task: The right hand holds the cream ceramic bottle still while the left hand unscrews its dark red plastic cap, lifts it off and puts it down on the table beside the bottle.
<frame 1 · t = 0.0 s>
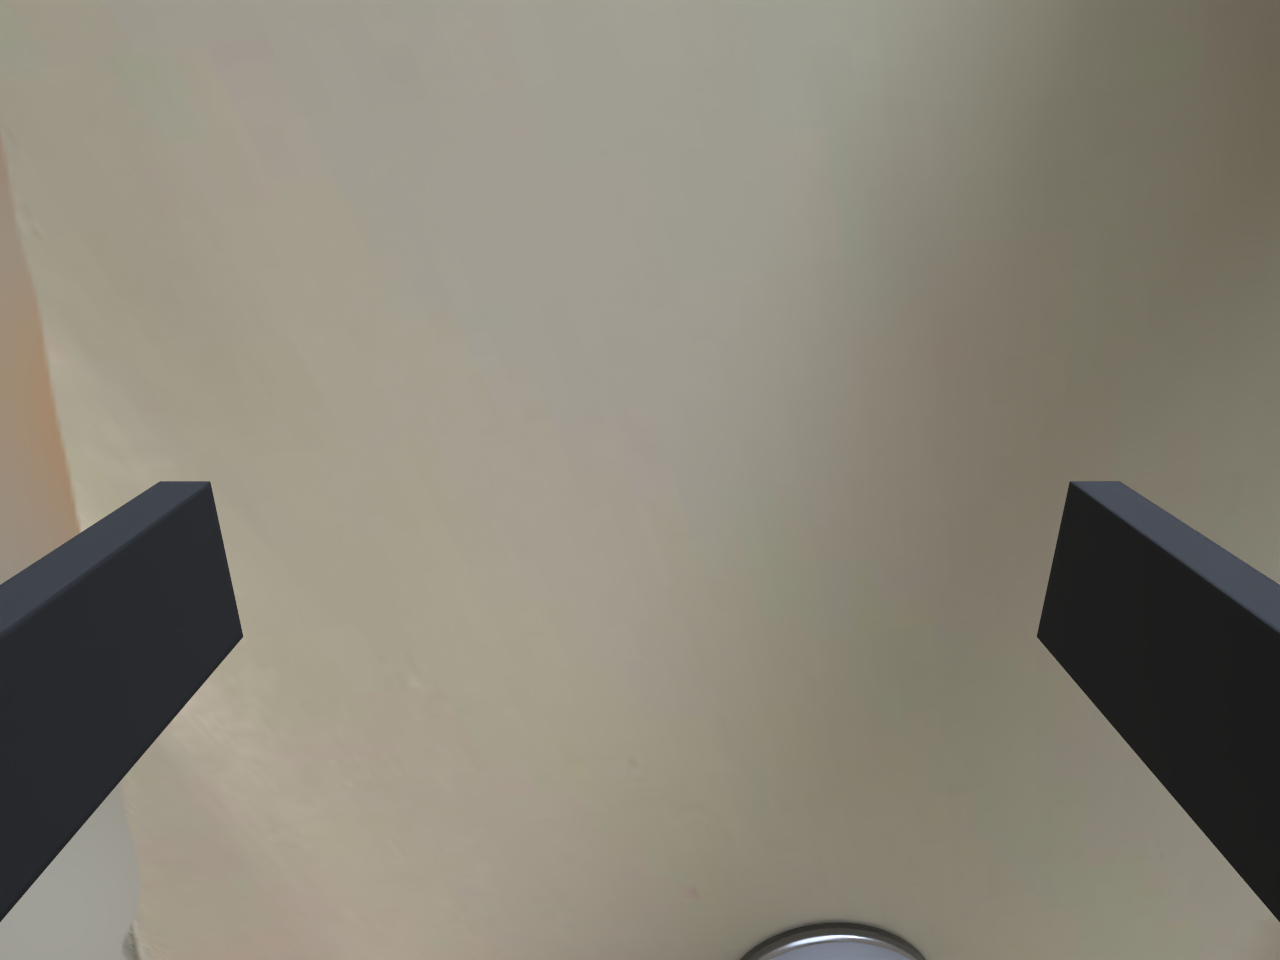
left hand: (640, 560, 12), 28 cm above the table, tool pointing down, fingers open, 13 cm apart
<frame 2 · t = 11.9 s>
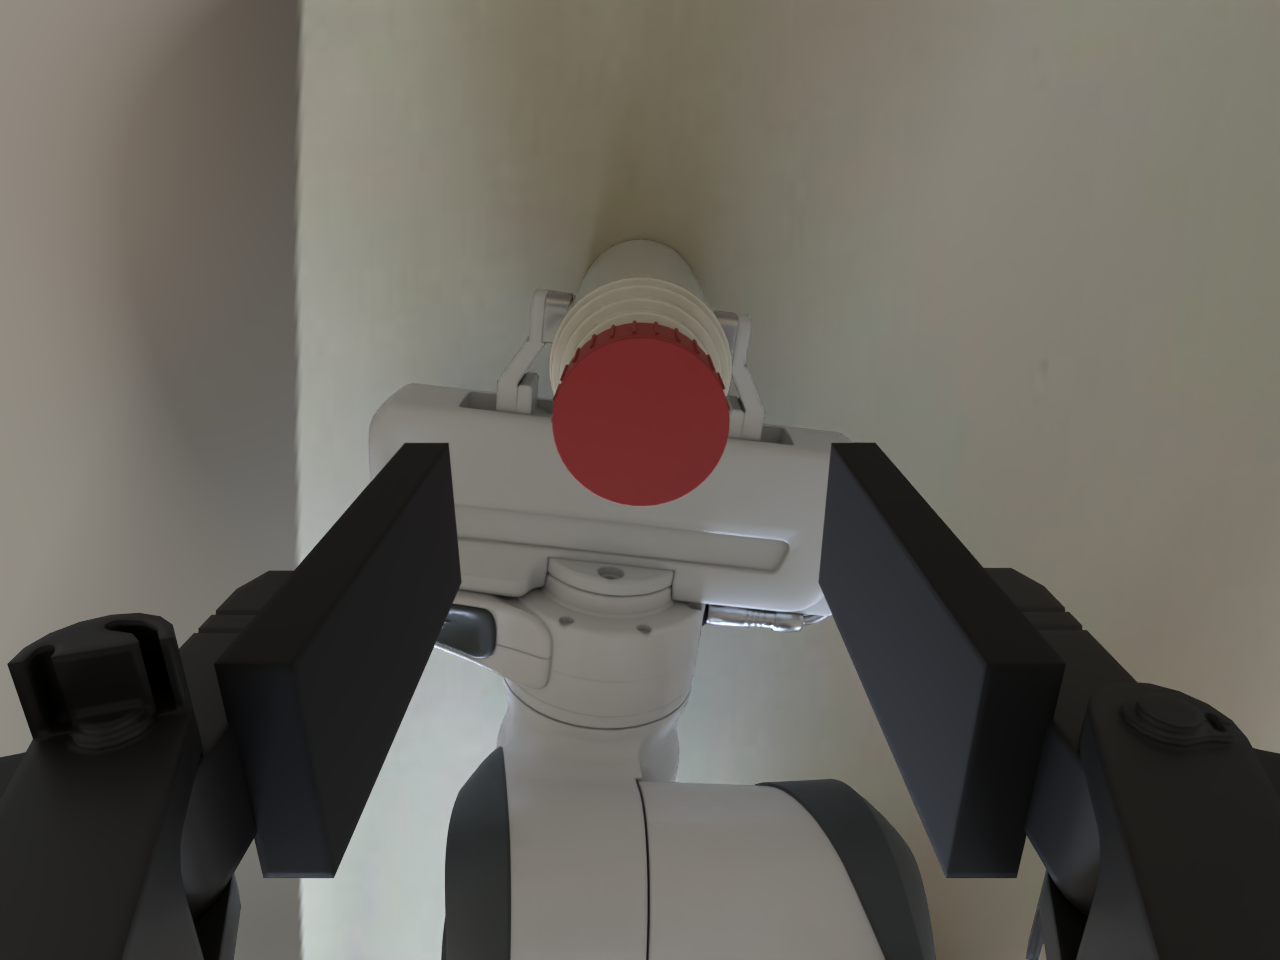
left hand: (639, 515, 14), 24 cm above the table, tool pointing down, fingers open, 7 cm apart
right hand: (641, 303, 31), fingers closed on bottle, 5 cm apart
cap: (640, 421, 19), point 19 cm above the table, screwed on, not yet turned
bottle: (640, 301, 37), on the table, touching right hand
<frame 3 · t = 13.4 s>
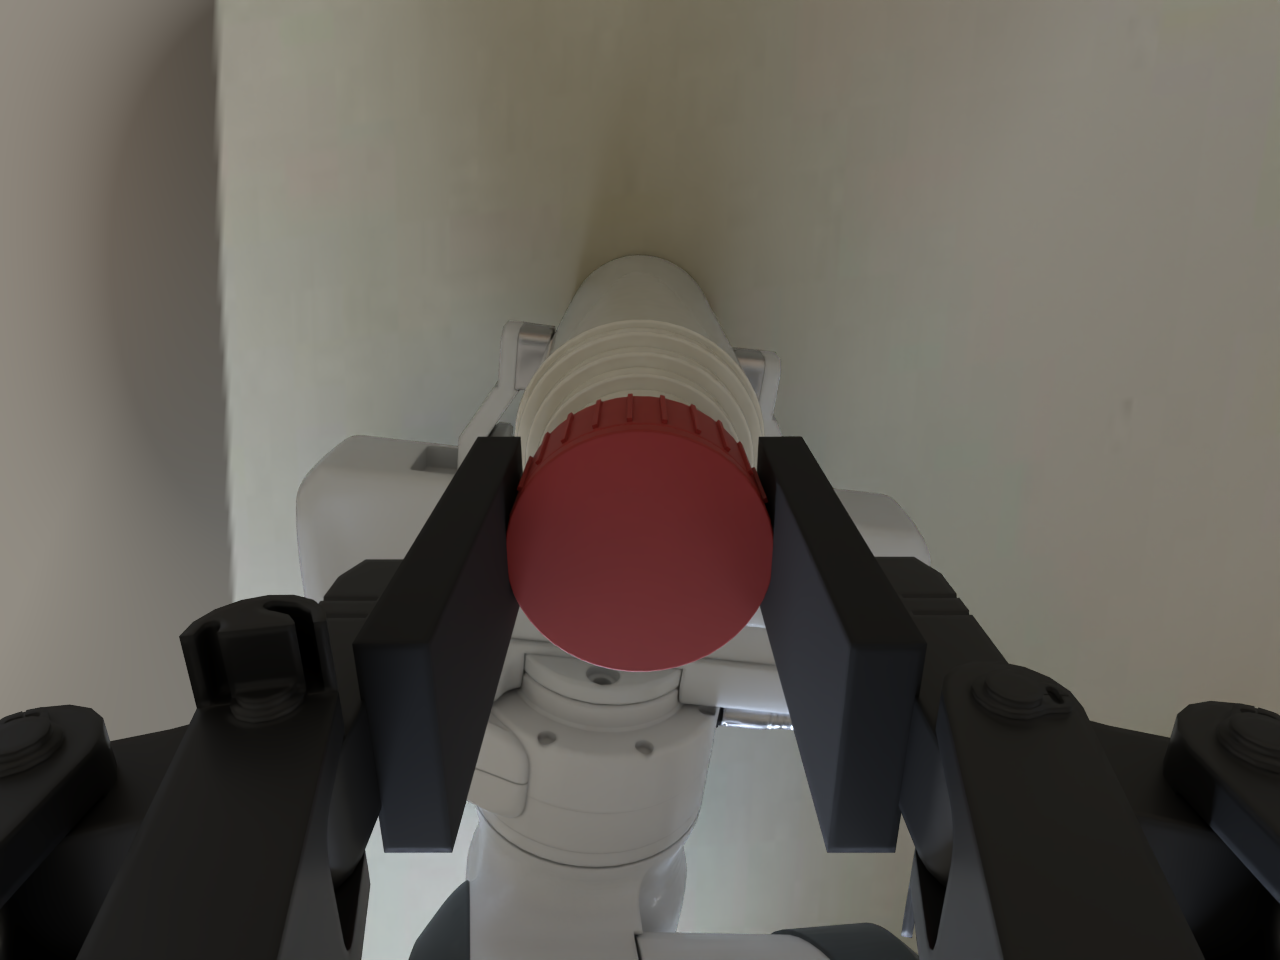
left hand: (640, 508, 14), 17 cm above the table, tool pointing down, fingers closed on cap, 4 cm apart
cap: (639, 550, 13), point 19 cm above the table, screwed on, not yet turned, touching left hand
bottle: (639, 330, 30), on the table, touching right hand
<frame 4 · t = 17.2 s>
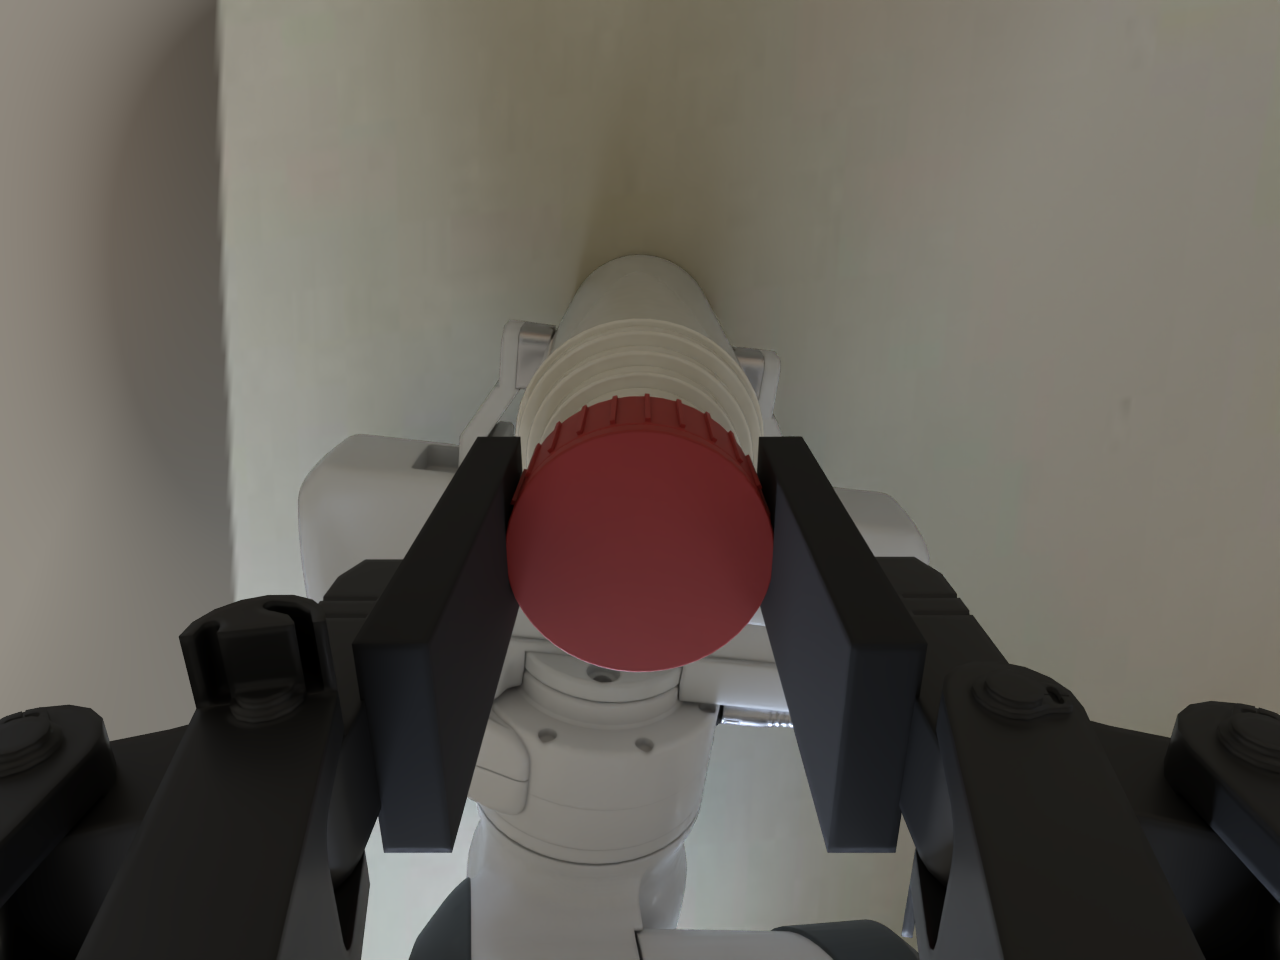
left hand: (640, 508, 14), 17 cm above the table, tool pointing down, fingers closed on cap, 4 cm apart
cap: (639, 550, 13), point 19 cm above the table, turned 137° so far, risen 0.1 cm, still on its thread, touching left hand
bottle: (639, 329, 30), on the table, touching right hand
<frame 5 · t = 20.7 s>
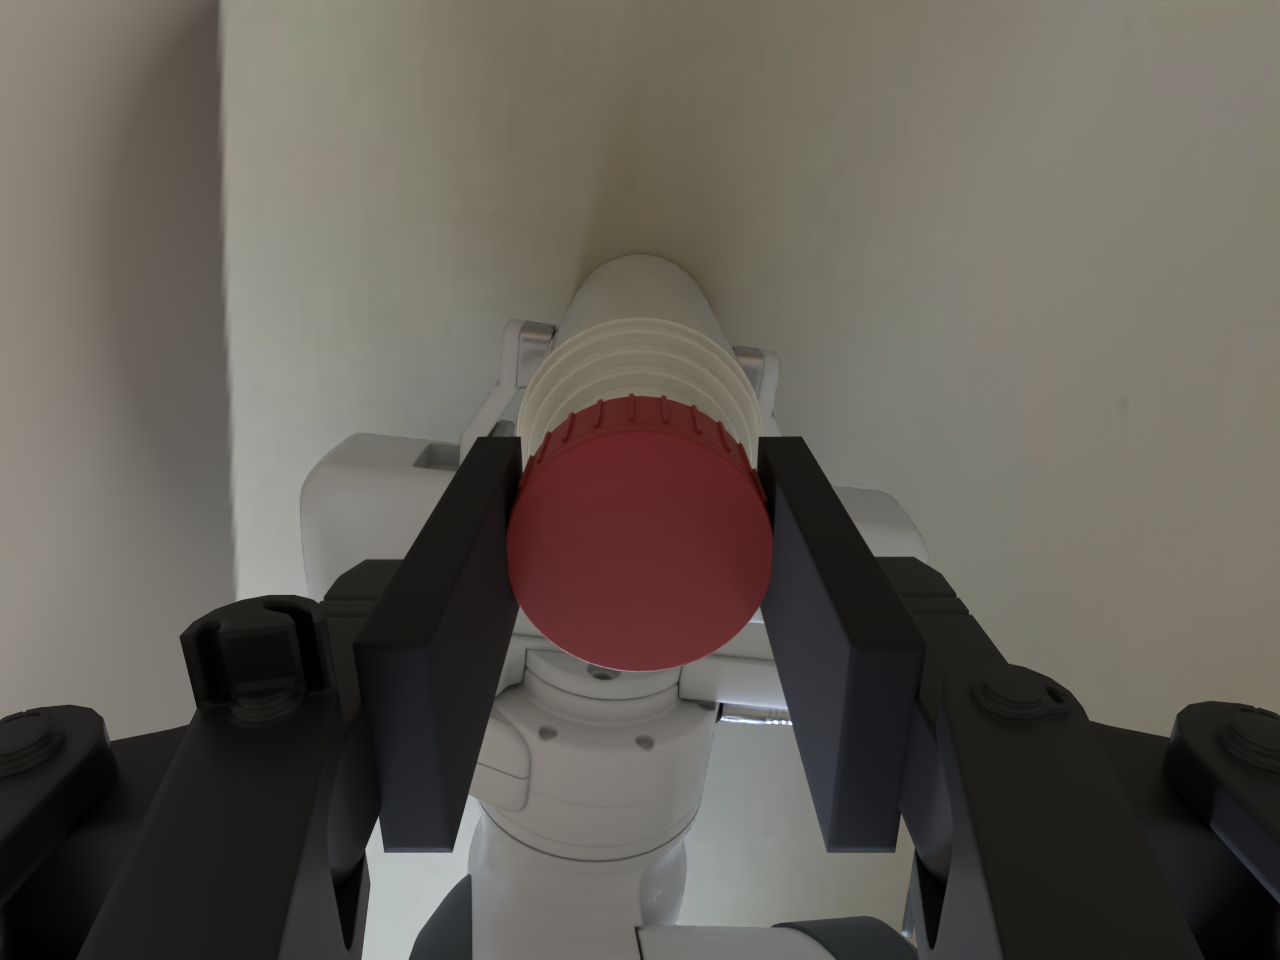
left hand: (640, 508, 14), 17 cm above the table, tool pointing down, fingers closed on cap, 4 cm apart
cap: (639, 550, 13), point 19 cm above the table, turned 273° so far, risen 0.3 cm, still on its thread, touching left hand
bottle: (639, 328, 31), on the table, touching right hand
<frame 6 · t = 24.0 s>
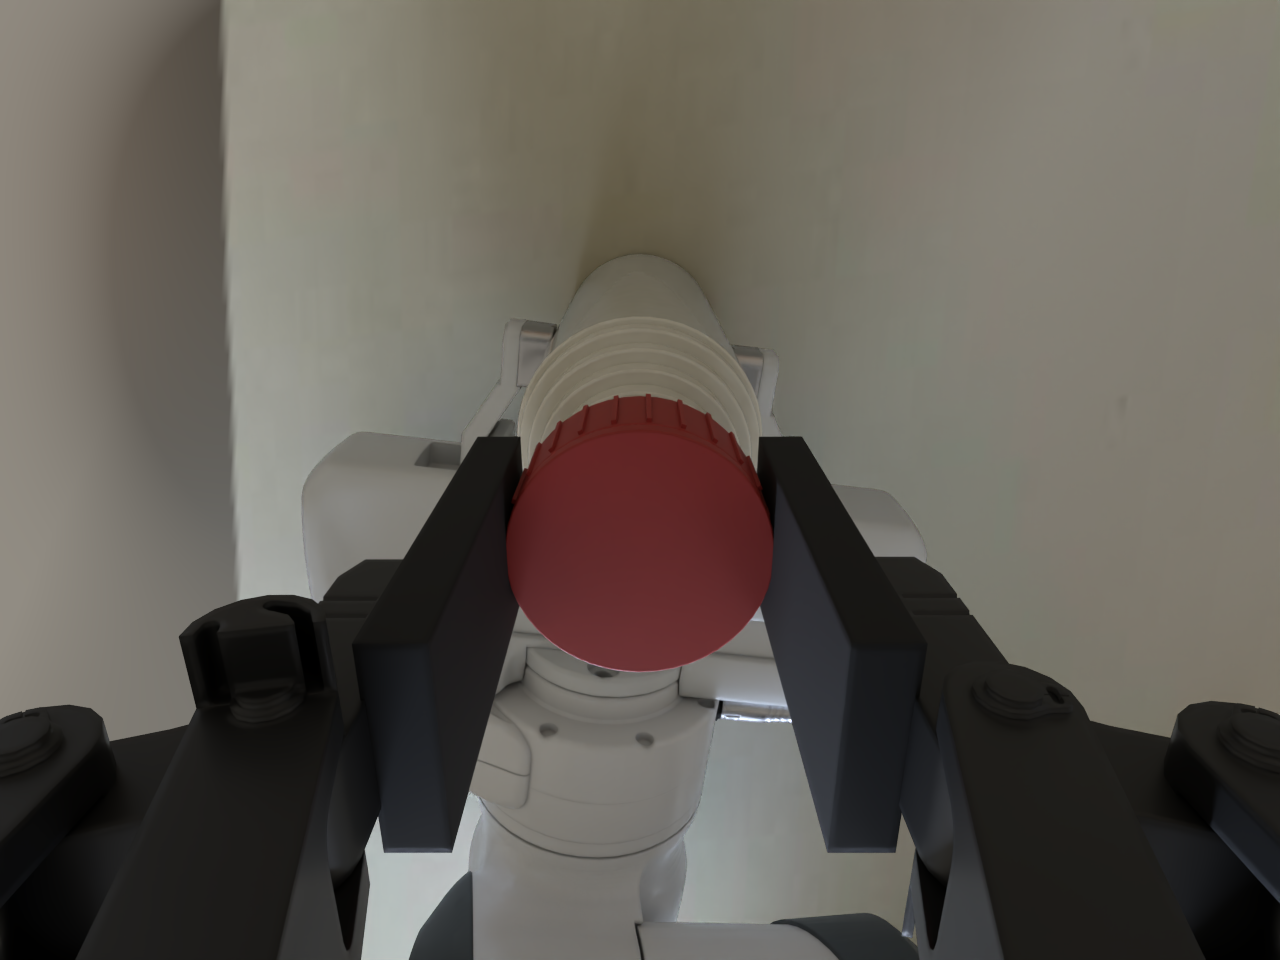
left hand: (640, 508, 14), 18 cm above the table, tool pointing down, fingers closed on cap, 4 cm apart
cap: (639, 550, 13), point 19 cm above the table, turned 410° so far, risen 0.4 cm, still on its thread, touching left hand
bottle: (639, 328, 31), on the table, touching right hand
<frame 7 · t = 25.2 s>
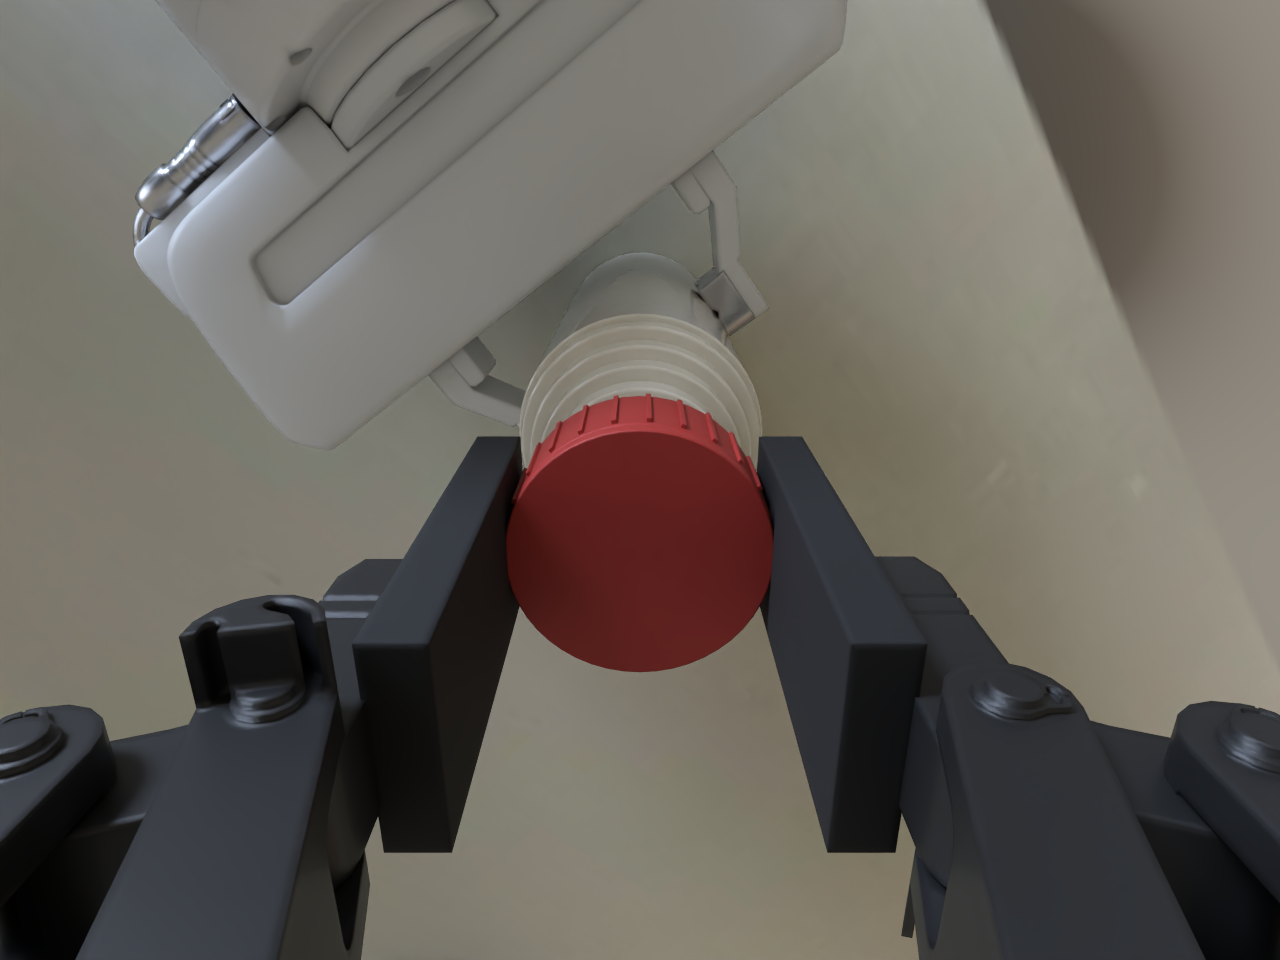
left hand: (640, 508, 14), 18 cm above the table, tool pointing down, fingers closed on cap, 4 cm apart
right hand: (658, 383, 25), fingers closed on bottle, 5 cm apart
cap: (639, 550, 13), point 19 cm above the table, off its thread, touching left hand
bottle: (640, 326, 31), on the table, touching right hand
when the left hand's fingers open (1 cm above the table, at t = 31.4 s): cap drops 1 cm, point 2 cm above the table.
when the right hand's fingers open (6 cm above the table, at t = 32.7 s): bottle stays where it is, on the table.
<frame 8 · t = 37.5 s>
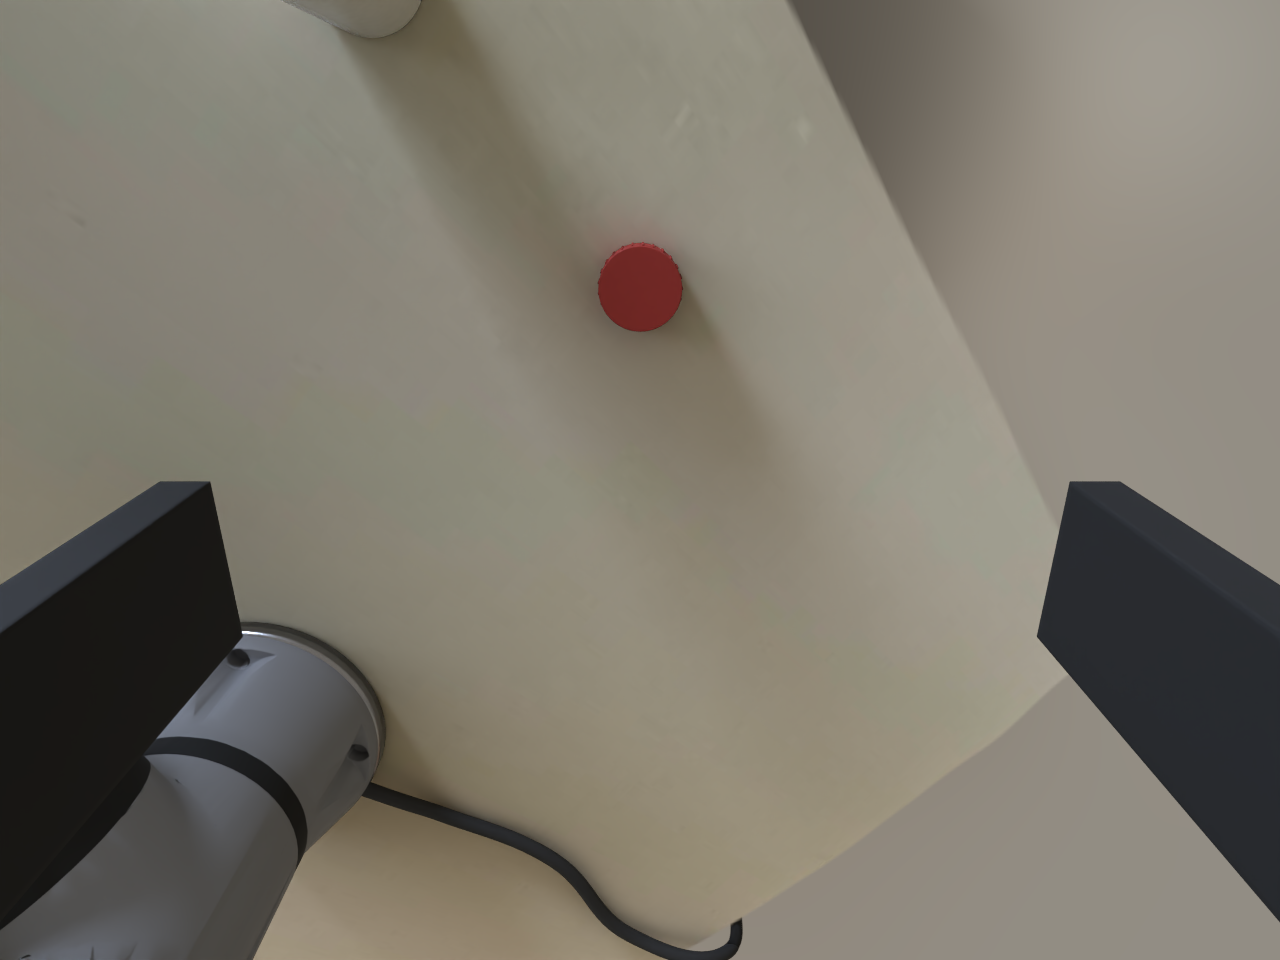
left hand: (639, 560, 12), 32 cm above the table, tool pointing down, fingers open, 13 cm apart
cap: (640, 288, 40), point 2 cm above the table, off its thread
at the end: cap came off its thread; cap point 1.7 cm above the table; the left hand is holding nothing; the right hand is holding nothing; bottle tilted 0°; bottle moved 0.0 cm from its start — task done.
